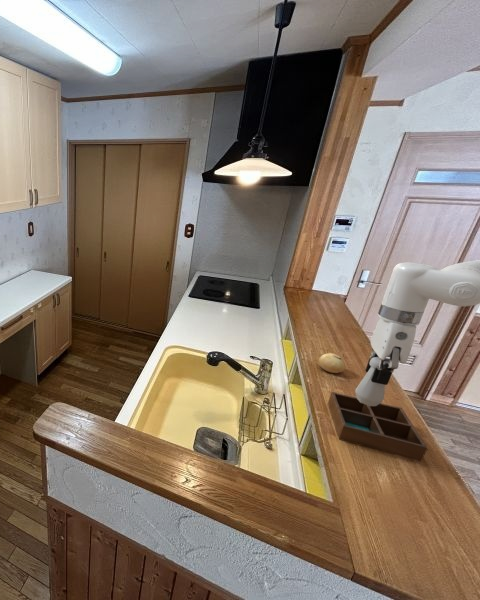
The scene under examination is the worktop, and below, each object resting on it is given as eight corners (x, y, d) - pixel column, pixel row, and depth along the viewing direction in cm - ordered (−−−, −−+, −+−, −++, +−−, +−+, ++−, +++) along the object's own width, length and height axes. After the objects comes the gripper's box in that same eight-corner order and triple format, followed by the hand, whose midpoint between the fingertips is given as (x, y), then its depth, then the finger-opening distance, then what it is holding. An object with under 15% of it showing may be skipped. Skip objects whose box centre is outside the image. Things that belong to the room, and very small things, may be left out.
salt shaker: (360, 406, 85) (375, 364, 81) (348, 393, 90) (362, 352, 86) (386, 410, 84) (403, 367, 79) (373, 396, 89) (388, 355, 85)
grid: (327, 403, 103) (331, 391, 102) (396, 420, 96) (401, 408, 94) (339, 439, 89) (343, 425, 88) (420, 461, 82) (427, 447, 80)
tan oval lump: (318, 372, 120) (323, 355, 118) (315, 362, 127) (319, 346, 124) (344, 378, 117) (350, 361, 114) (340, 367, 123) (345, 351, 121)
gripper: (436, 330, 70) (407, 400, 76) (406, 305, 84) (383, 366, 90) (391, 323, 73) (366, 391, 79) (369, 300, 87) (350, 359, 93)
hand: (375, 377), depth 84 cm, fingers closed on salt shaker, 4 cm apart
